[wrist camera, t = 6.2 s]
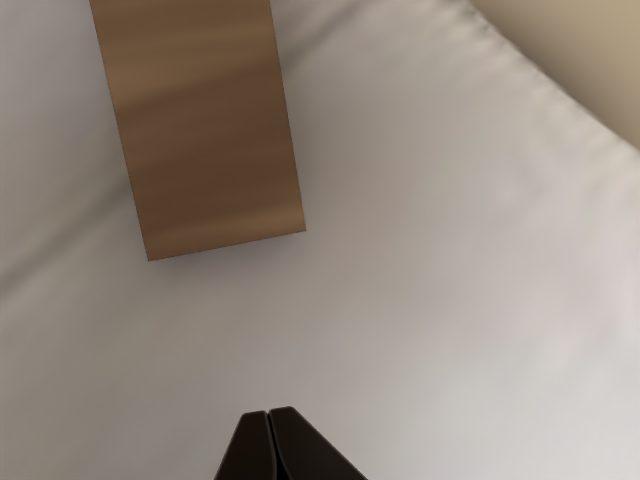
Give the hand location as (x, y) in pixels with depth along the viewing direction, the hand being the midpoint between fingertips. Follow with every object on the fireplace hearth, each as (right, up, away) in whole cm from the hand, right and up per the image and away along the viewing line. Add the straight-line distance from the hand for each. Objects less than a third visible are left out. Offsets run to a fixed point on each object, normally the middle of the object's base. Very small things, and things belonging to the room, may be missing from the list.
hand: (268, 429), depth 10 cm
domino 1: (-2, +3, +10) cm, 11 cm away
